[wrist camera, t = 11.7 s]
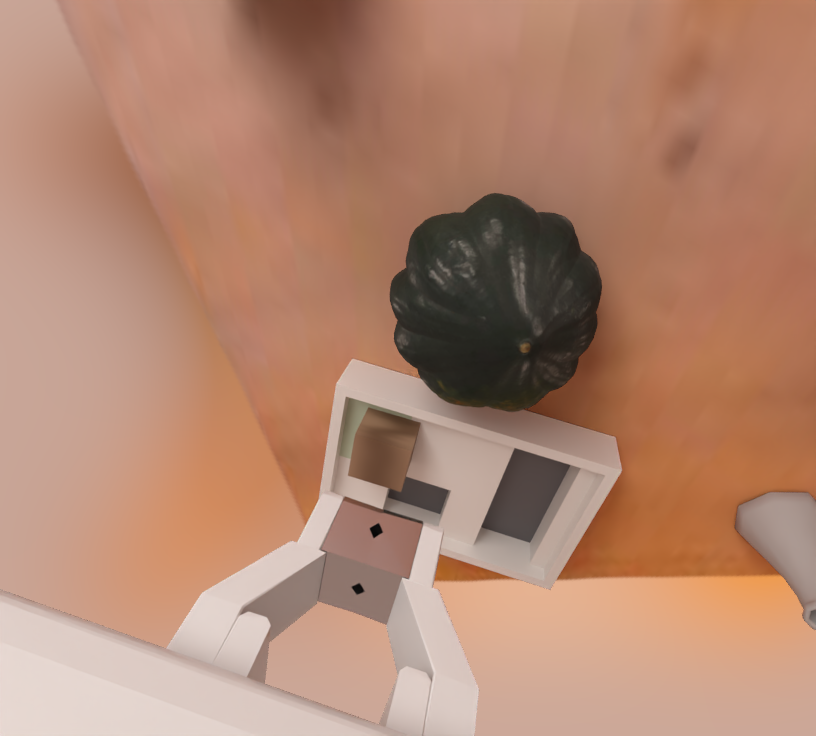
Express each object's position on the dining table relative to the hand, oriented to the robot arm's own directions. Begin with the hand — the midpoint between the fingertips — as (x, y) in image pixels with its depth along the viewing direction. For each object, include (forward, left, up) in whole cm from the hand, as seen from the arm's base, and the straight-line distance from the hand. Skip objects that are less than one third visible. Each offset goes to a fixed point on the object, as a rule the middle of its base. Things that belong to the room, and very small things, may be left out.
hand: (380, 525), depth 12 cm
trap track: (-4, +25, -31) cm, 40 cm away
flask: (-33, +20, -31) cm, 50 cm away
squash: (-2, +5, -31) cm, 32 cm away
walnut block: (+3, +22, -28) cm, 36 cm away
